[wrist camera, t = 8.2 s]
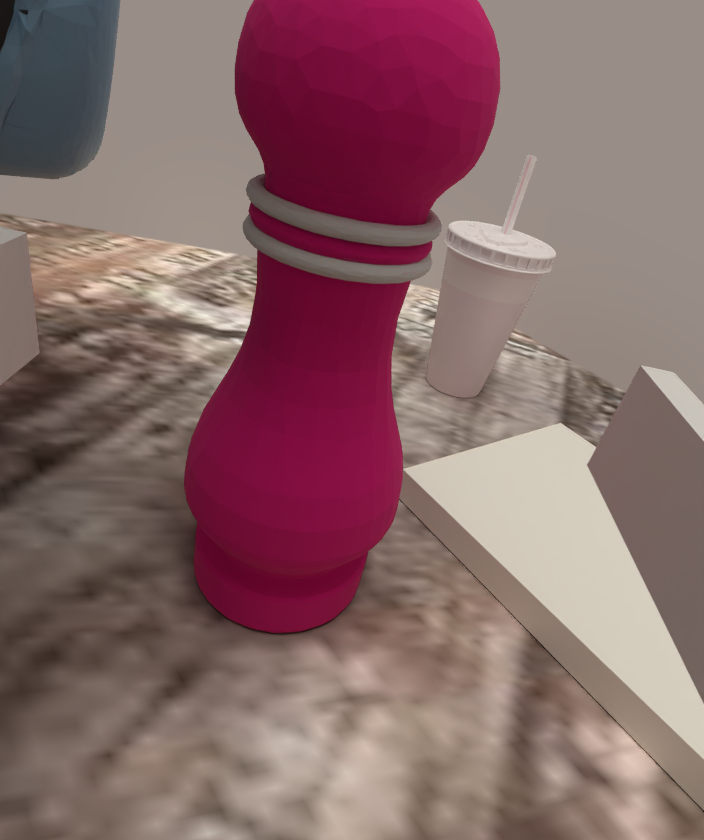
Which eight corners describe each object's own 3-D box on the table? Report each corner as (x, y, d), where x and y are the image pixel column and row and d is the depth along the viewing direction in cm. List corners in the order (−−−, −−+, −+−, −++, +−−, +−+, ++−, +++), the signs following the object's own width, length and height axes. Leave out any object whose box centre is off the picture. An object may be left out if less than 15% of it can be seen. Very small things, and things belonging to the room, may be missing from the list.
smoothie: (510, 384, 39) (597, 169, 32) (485, 421, 34) (582, 176, 26) (426, 350, 41) (489, 140, 33) (390, 381, 36) (455, 141, 28)
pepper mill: (331, 491, 26) (465, -77, 15) (403, 622, 20) (688, -111, 10) (165, 512, 23) (187, -187, 12) (200, 673, 17) (295, -323, 7)
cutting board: (395, 494, 26) (402, 469, 26) (550, 443, 33) (560, 423, 32) (766, 875, 16) (800, 853, 15) (883, 685, 22) (911, 663, 22)
